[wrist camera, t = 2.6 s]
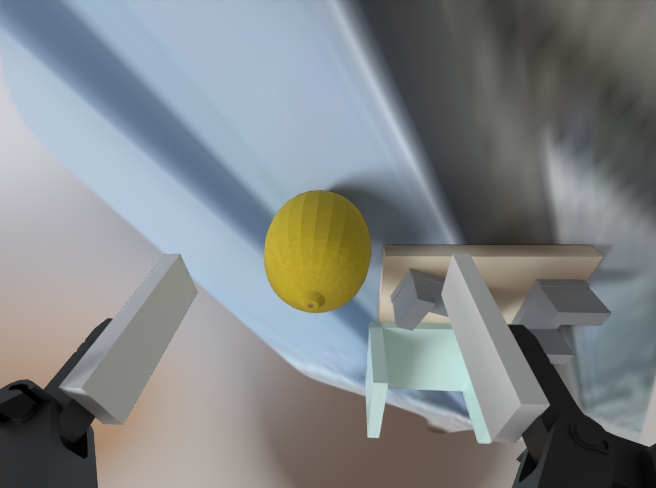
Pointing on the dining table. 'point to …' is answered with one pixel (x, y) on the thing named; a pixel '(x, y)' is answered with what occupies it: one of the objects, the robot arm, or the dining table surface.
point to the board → (486, 270)
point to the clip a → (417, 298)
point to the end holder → (416, 369)
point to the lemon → (317, 251)
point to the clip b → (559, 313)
